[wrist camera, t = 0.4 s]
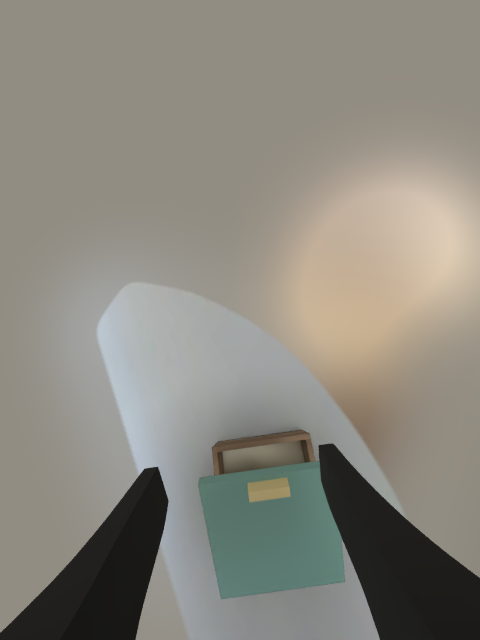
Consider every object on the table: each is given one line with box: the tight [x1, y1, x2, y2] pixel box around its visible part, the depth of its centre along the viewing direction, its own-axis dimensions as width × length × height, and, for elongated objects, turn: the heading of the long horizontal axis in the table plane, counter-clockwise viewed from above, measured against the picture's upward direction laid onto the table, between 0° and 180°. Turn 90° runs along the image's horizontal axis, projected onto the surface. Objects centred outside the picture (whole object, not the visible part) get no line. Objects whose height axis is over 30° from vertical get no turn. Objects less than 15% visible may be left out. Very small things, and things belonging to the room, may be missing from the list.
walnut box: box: [212, 430, 315, 476], centre depth 30 cm, size 13×12×5 cm
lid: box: [198, 461, 345, 599], centre depth 23 cm, size 14×12×2 cm
